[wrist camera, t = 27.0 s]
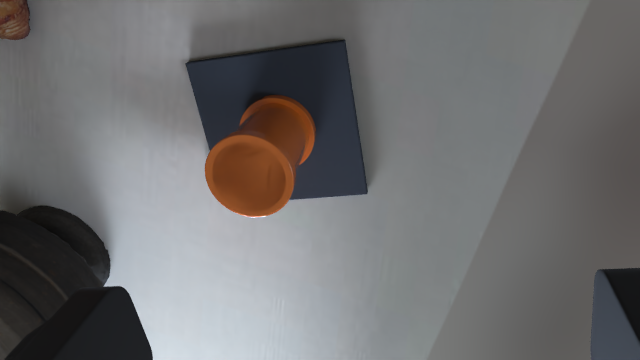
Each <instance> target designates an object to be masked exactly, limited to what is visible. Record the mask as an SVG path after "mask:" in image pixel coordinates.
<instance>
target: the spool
mask: <svg viewBox="0 0 640 360" xmlns="http://www.w3.org/2000/svg"><path fill="white" fill-rule="evenodd" d="M315 140H316V128H315V124H314V121H313V119H312V117H311V115H310V113H309V112H308V111H307V109H306V108H305V107H304V106H303V105H301V104H300V103H299V102H297V101H296V100H294V99H292V98H289V97H286V96H282V95H269V96H265V97H262V98H259V99H257V100H256V101H255V102H253V103H252V104H251V105H250V106H249V107H248V108H247V110H246V111H245V112H244V114H243V116H242V118H241V121H240V125H239V127H238V129H237V130H236V131H235V132H233V133H230V134H228V135H226V136H224V137H223V138H221V139H220V140H219V141H218V142H217V143H216V144H215V146H214V147H213V148H212V149H211V151H210V152H209V154H208V156H207V159H206V163H205V176H206V181H207V184H208V186H209V188H210V190H211V192H212V194H213V195H214V197H215V198H216V199H217V200H218V201H219V202H220V203H221V204H222V205H223V206H225V207H226V208H228V209H229V210H231V211H233V212H235V213H237V214H240V215H243V216H248V217H263V216H267V215H271V214H273V213H275V212H277V211H279V210H280V209H281V208H283V207H284V206H285V204H286V203H287V202H288V200H289V199H290V197H291V195H292V193H293V190H294V188H295V184H296V170H297V168H298V166H299V165H300V164H301V163H303V162H304V161H305V160H306V159H307V158H308V156H309V155H310V153H311V151H312V149H313V147H314V144H315Z"/></svg>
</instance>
